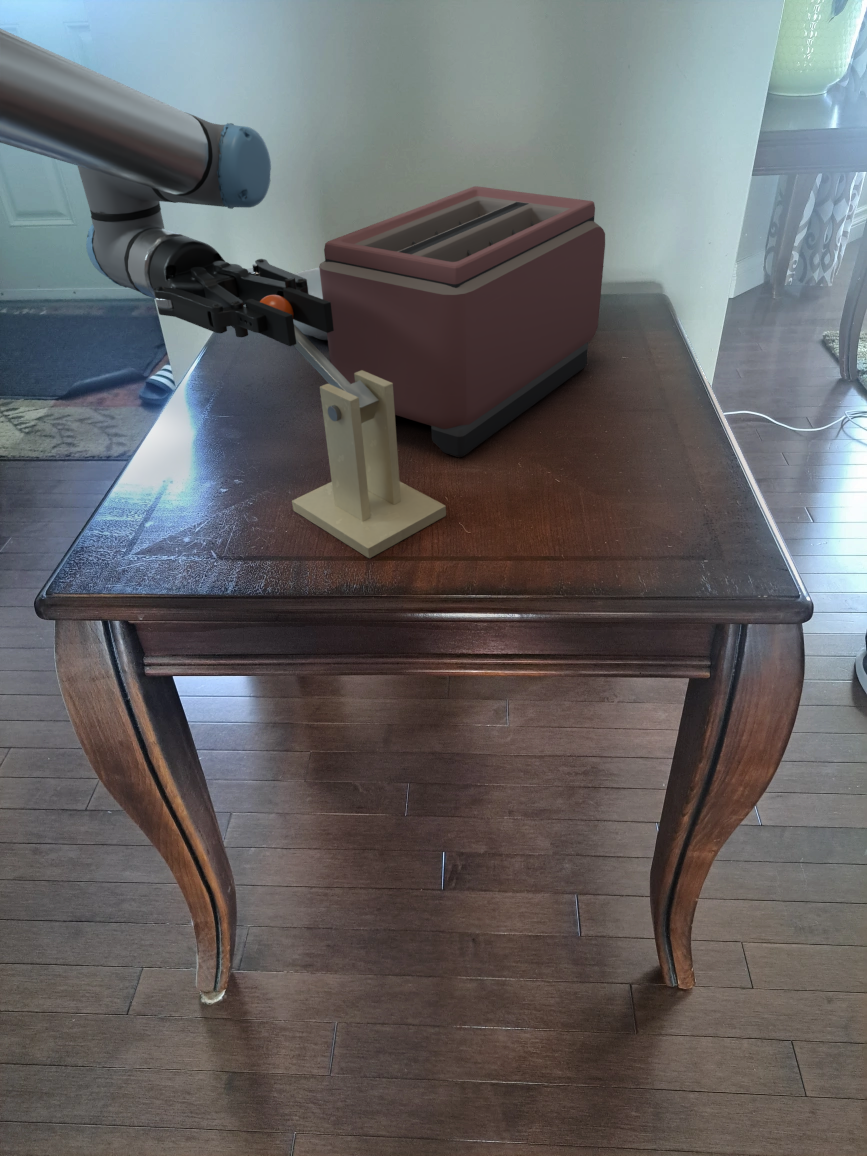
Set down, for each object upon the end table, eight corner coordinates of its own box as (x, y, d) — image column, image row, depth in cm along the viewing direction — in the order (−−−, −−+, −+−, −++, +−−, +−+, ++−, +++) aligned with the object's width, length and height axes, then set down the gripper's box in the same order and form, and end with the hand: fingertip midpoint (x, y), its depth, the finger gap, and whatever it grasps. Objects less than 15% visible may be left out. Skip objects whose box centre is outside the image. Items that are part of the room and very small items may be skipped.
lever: (246, 322, 80) (249, 292, 78) (277, 312, 82) (281, 282, 79) (348, 433, 76) (355, 405, 73) (378, 420, 78) (386, 392, 75)
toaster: (611, 354, 112) (627, 191, 100) (460, 466, 90) (457, 273, 77) (491, 327, 122) (492, 175, 109) (327, 423, 99) (305, 244, 86)
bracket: (293, 510, 84) (272, 383, 76) (368, 473, 89) (356, 351, 81) (369, 558, 77) (355, 424, 68) (446, 515, 82) (442, 386, 74)
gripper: (250, 287, 96) (382, 337, 82) (117, 327, 87) (240, 391, 74) (238, 219, 92) (376, 260, 78) (97, 254, 83) (224, 307, 69)
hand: (310, 323), depth 76 cm, fingers closed on lever, 4 cm apart
